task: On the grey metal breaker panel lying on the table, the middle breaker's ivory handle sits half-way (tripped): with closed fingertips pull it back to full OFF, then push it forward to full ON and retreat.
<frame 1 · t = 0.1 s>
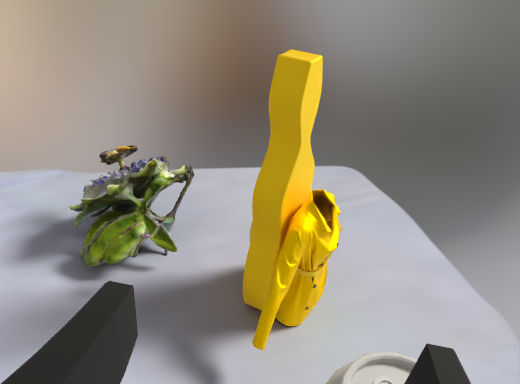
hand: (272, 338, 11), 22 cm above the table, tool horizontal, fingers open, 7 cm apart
figure statuette: (279, 297, 42), on the table
passion flower: (139, 239, 47), on the table
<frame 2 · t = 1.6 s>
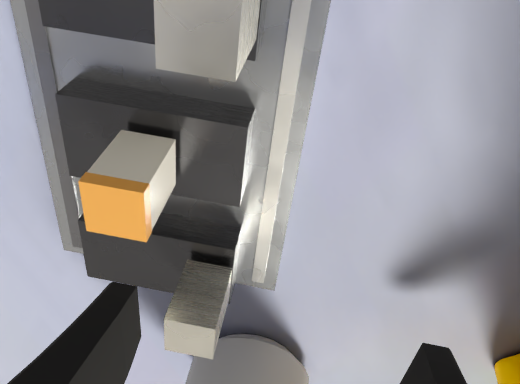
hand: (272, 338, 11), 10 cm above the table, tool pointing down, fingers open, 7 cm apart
can: (252, 359, 30), on the table
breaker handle: (133, 183, 16), point 5 cm above the table, slide at 0.0 cm
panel: (176, 116, 20), on the table
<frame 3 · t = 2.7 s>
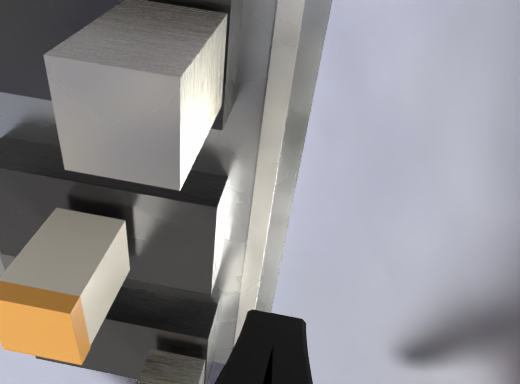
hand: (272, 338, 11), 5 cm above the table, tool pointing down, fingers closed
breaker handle: (67, 281, 12), point 5 cm above the table, slide at 0.0 cm
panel: (135, 176, 16), on the table
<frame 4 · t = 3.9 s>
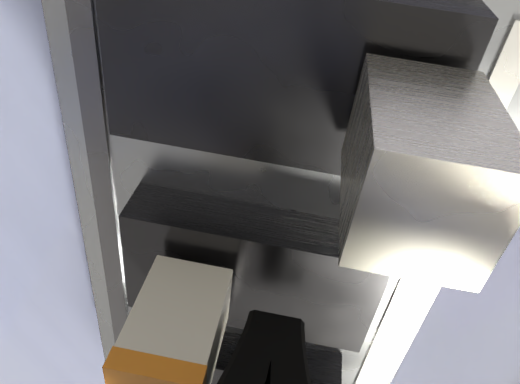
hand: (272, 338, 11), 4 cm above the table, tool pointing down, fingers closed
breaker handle: (176, 338, 11), point 5 cm above the table, slide at -1.4 cm, touching gripper
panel: (263, 219, 15), on the table
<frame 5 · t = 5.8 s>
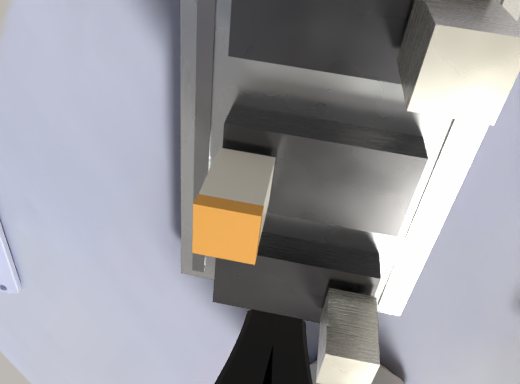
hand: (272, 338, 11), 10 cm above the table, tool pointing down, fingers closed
can: (348, 379, 29), on the table
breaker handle: (235, 203, 15), point 5 cm above the table, slide at -2.6 cm
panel: (319, 141, 19), on the table
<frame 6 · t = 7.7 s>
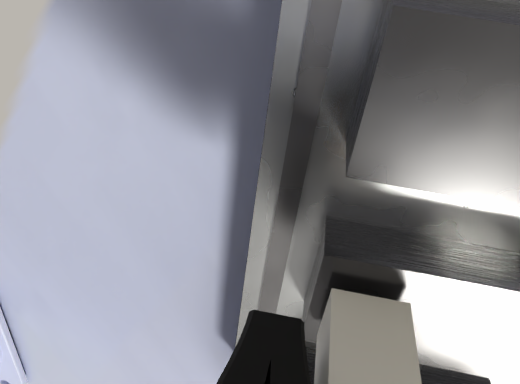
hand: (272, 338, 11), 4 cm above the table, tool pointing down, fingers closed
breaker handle: (362, 375, 11), point 5 cm above the table, slide at -2.1 cm, touching gripper
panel: (424, 249, 15), on the table
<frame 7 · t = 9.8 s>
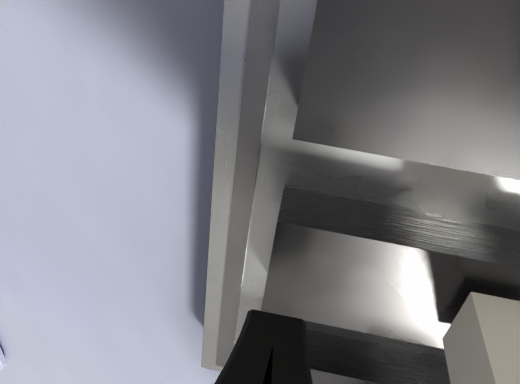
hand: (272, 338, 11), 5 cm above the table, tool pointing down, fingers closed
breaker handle: (511, 381, 11), point 5 cm above the table, slide at 2.6 cm
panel: (388, 223, 15), on the table
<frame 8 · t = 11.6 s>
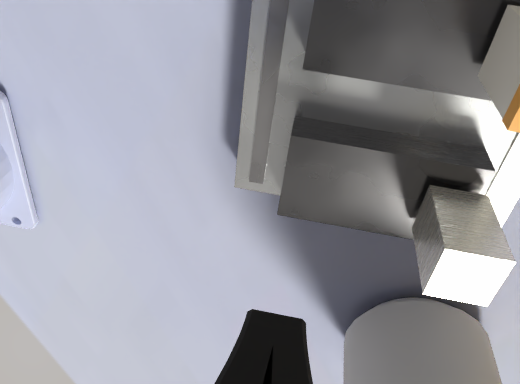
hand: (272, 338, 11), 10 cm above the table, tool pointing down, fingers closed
can: (411, 329, 26), on the table
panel: (421, 1, 15), on the table
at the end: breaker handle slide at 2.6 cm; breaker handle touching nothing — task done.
